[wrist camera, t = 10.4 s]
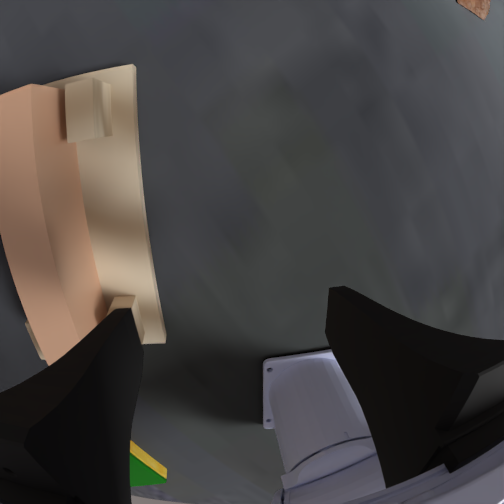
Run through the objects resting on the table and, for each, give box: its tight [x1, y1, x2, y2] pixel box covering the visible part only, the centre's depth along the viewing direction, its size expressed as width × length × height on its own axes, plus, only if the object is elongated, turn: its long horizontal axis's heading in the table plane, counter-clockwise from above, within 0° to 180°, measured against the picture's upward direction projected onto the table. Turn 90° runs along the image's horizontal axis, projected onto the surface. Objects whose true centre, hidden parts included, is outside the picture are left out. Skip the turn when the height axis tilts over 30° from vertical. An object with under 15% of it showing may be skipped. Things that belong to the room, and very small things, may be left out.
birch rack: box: [25, 64, 167, 360], centre depth 16 cm, size 18×10×4 cm, turn 1°
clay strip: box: [0, 84, 108, 366], centre depth 15 cm, size 16×3×5 cm, turn 2°
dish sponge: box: [130, 440, 167, 487], centre depth 26 cm, size 7×14×2 cm, turn 21°
